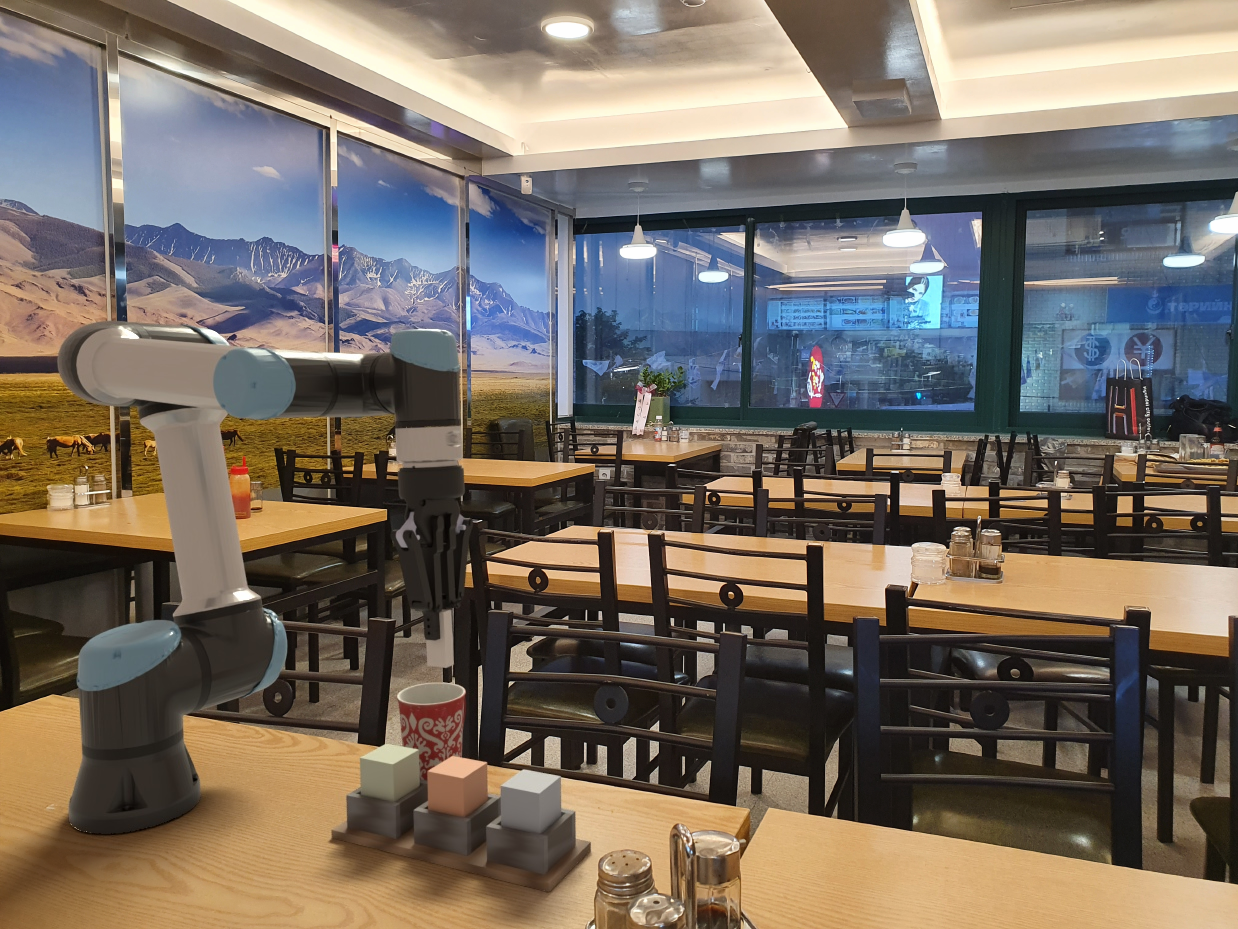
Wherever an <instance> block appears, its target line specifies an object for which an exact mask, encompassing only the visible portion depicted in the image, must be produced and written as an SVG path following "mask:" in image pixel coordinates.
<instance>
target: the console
mask: <svg viewBox="0 0 1238 929" xmlns="http://www.w3.org/2000/svg"><path fill="white" fill-rule="evenodd" d="M345 797H346V799H345V800H346V803H345V804H346V820H345V821H344V822H341V823H340V824H338V825H337V826H335V827H333V828H332V829H331V830H330V831H331V833H330V834H331V839H336V840H339V841H343V842H347V843H350V844H354V845H355V844H356V845H358V846H364V847H367V848H371V849H375V850H379V851H383V852H386V853H387V852H388V853H391V854H395V855H399V856H403V857H407V858H411V859H416V860H418V861H422V862H427V863H430V864H435V865H438V866H442V867H447V868H451V869H455V870H459V871H463V872H467V873H471V874H475V875H479V876H483V877H487V878H491V879H495V880H499V881H503V882H507V883H511V884H515V885H520V886H523V887H527V888H531V889H534V890H539V891H543V892H547V893H550V892H551V891H552V890H553V889H554V888H555V887H556V886H557V885H558V884H559V883H560V882H562V880H563V879H564V878H565V877H566V876H567V875H568V874H569V873H570V872H572V870H573V869H574V868H575V867H576V866H577V865H578V864H579V863H580V862H581V861H582V860H583V859H584V858H585V857H586V856H587V855H588V854H589V853H590V852H591V851H592V849H591V848H592V845H591V844H592V841H590V840H589V841H588V840H583V839H580V838H576V833H577V831H576V830H577V829H576V828H577V826H576V825H577V824H576V822H577V821H576V819H577V818H576V810H571V809H567V808H562V807H561V818H560V819H558V820H557V821H556V822H555V823H554V824H553V825H552V826H550V827H549V828H548V829H547V830H546V831H545V832H544V833H542V834H536V833H532V832H527V831H523V830H518V829H513V828H509V827H504V826H501V795H499V794H493V793H489V792H488V801H487V802H486V803H484V804H483V805H482V806H480V807H479V808H477V809H476V810H475V811H473V812H472V813H471V814H469V815H468V816H467V817H465V818H464V817H459V816H455V815H450V814H446V813H441V812H437V811H432V810H428V781H426V780H421V779H420V786H419V787H418V788H416V789H415V790H413V791H411V792H410V793H408V794H407V795H405V796H403V797H402V798H400V799H399V800H397V801H396V802H391V801H387V800H382V799H378V798H373V797H369V796H364V795H361V786H360V787H358V788H356V789H355V790H352V791H351V792H349V793H347V794H346V796H345Z"/></svg>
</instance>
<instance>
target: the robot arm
mask: <svg viewBox="0 0 1238 929" xmlns="http://www.w3.org/2000/svg"><path fill="white" fill-rule="evenodd" d="M390 343H391V344H390V347H389V351H386V352H372V353H350V352H349V353H348V352H347V353H345V352H329V351H328V352H327V351H308V350H307V351H305V350H291V349H280V348H279V349H277V348H267V347H256V346H255V347H254V346H250V347H249V346H237V345H231V344H230V343H229V342H228V341H227V339H226V338H224V337H223V336H221V335H220V334H219V333H218V332H216V331H214V330H212V329H210V328H209V329H208V328H204V327H198V326H193V325H189V324H180V325H179V324H165V323H164V324H162V323H161V324H160V323H150V322H149V323H146V322H135V321H134V322H133V321H131V322H130V321H123V320H121V321H120V320H103V321H96V322H92V323H91V322H90V323H88V324H85V325H83V326H80V327H79V328H77V329H75V330H74V331H73V332H72V333H70V334H68V336H67V337H66V338H65V339H64V341H63V342H62V344H61V345H60V346H59V350H58V355H57V361H56V362H57V370H58V373H59V377H60V379H61V380H62V382H63V383H64V385H65V386H66V388H67V389H68V390H69V391H70V392H72V393H73V394H74V396H77V397H79V398H81V399H82V400H84V401H87V402H90V403H92V404H96V405H101V406H106V407H123V408H124V407H125V408H128V407H129V408H131V407H133V408H134V407H135V408H136V409H137V412H138V413H137V414H138V418H139V423H140V425H142V426H143V427H144V428H145V429H147V430H149V431H151V433H153V436H154V440H155V447H156V452H157V459H158V463H159V469H160V471H159V472H160V476H161V481H162V487H163V488H162V489H163V493H164V499H165V504H166V510H167V516H168V524H169V529H170V533H171V534H170V535H171V541H172V545H173V552H174V553H173V554H174V557H175V563H176V569H177V575H178V582H179V586H180V592H181V598H182V600H181V601H180V602H181V603H180V604H179V605H178V606H177V608H176V609H175V611H174V612H173V613H172V617H173V621H172V620H166V619H151V620H144V621H142V622H138V623H137V622H132V623H127V624H123V625H120V626H117V627H114V628H111V629H108V630H106V631H103V632H101V633H99V634H96V635H95V636H94V637H92V638H90V639H89V640H88V641H87V642H86V643H85V644H84V645H83V646H82V647H81V649H80V652H79V653H78V662H77V664H78V665H77V676H76V685H77V687H78V701H79V702H78V703H79V718H80V719H79V721H80V739H81V740H80V741H81V756H82V758H81V763H80V767H79V769H78V772H77V776H76V779H75V782H74V787H73V790H72V795H71V796H70V798H69V800H68V822H70V823H71V824H72V826H73V827H76V828H77V829H79V830H81V831H85V832H86V831H87V832H91V833H90V834H92V833H101V834H100V835H111V833H112V834H113V833H116V834H123V832H125V833H131V832H135V830H137V831H140V830H139V829H142V830H144V829H143V828H146V827H150V828H152V827H151V826H153V827H156V826H155V825H157V826H159V825H158V824H160V825H162V824H161V823H163V824H165V823H168V822H170V821H169V820H171V819H173V818H175V819H177V818H179V817H181V816H183V815H184V814H186V813H188V812H189V811H191V810H192V809H193V808H195V807H196V806H197V805H198V803H199V802H200V800H201V798H202V795H201V794H202V792H201V791H202V790H201V779H200V776H199V774H198V772H197V769H196V766H195V765H194V762H193V760H192V757H191V755H190V753H189V751H188V748H187V745H186V743H185V738H184V716H186V715H189V714H191V713H196V712H198V711H201V710H202V711H203V710H204V709H208V708H211V707H214V706H216V705H220V704H223V703H227V702H229V701H232V700H236V699H242V698H247V697H249V696H251V695H253V694H254V693H256V692H259V691H261V690H264V689H267V688H268V687H270V686H272V684H273V683H275V682H276V680H277V679H278V678H279V676H280V674H281V672H282V670H283V668H284V666H285V663H286V659H287V654H288V639H287V633H286V628H285V625H284V623H283V622H282V621H281V620H279V616H278V615H277V614H276V612H274V611H273V610H271V609H269V608H268V609H267V608H265V607H264V606H263V602H262V601H263V600H262V596H261V595H259V594H257V593H256V592H255V591H253V590H251V589H250V588H249V586H248V580H247V577H246V575H247V574H246V570H245V564H244V560H243V552H242V546H241V542H240V537H239V536H240V534H239V530H238V524H237V519H236V514H235V512H236V511H235V506H234V502H233V497H232V490H231V485H230V484H231V483H230V479H229V478H230V477H229V473H228V468H227V466H228V465H227V462H226V461H227V460H226V455H225V450H224V444H223V438H222V434H221V433H222V432H221V427H220V425H221V423H222V422H223V421H224V419H225V418H226V417H227V416H228V415H230V416H231V417H234V418H238V419H248V420H254V421H255V420H256V421H257V420H260V421H261V420H262V421H264V420H265V421H266V420H267V421H268V420H270V419H288V418H289V419H290V418H291V419H293V418H295V419H296V418H344V419H352V418H354V419H359V418H364V417H376V416H389V415H393V416H394V419H395V420H394V426H395V428H394V430H395V449H396V450H395V451H396V452H395V453H396V462H398V463H399V464H402V467H400V468H399V469H398V470H397V481H398V482H397V483H398V485H397V486H398V496H399V499H400V500H403V501H405V502H406V508H405V513H404V517H403V518H404V524H403V525H401V527H400V529H393V530H391V532H390V539H391V541H392V543H393V544H394V547H395V549H396V550H397V555H398V559H399V565H400V569H401V574H402V579H403V583H404V587H405V588H404V589H405V591H406V596H407V597H406V598H407V602H408V606H409V608H410V609H411V610H414V611H415V612H421V613H422V617H423V618H422V619H423V620H422V621H423V636H424V639H425V643H426V644H425V646H426V664H427V665H426V667H434V668H435V667H436V668H445V669H447V668H450V667H451V666H454V665H455V663H454V659H455V658H454V642H453V641H454V640H453V637H454V636H453V634H454V616H453V614H454V613H453V609H459V608H460V607H461V604H462V602H461V601H460V600H463V599H464V597H465V588H466V575H467V565H468V552H469V544H470V543H469V542H470V536H471V532H472V530H473V526H474V520H473V519H472V518H470V517H469V518H466V517H464V516H463V515H462V514H461V508H460V506H459V502H458V498H461V497H462V496H464V495H465V493H466V487H465V468H464V467H463V466H462V465H461V464H458V463H459V461H461V460H462V459H463V458H464V457H463V456H464V454H463V438H462V419H461V399H460V398H461V390H460V388H461V387H460V384H461V382H460V376H461V375H460V371H461V365H460V361H459V353H458V346H457V338H456V337H455V335H454V334H453V333H451V332H450V331H448V330H445V329H438V328H436V329H434V328H433V329H431V328H420V329H419V328H417V329H405V330H404V329H403V330H399V331H396V332H394V333H393V334H392V336H391V339H390ZM458 600H459V601H458ZM200 797H201V798H200ZM198 801H199V802H198ZM195 805H196V806H195ZM182 814H183V815H182ZM176 817H177V818H176ZM173 820H174V819H173ZM167 821H168V822H167ZM171 821H172V820H171ZM164 822H165V823H164ZM70 823H69V824H70ZM72 826H71V827H72ZM73 827H72V828H73ZM146 829H147V828H146ZM81 831H80V832H81ZM130 831H131V832H130ZM85 832H84V833H85ZM120 832H121V833H120Z"/></svg>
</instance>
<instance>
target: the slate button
mask: <svg viewBox="0 0 1238 929" xmlns="http://www.w3.org/2000/svg"><path fill="white" fill-rule="evenodd" d="M499 788H500V796H501V826H504V827H509V828H513V829H518V830H523V831H527V832H532V833H536V834H542V833H544V832H545V831H546V830H547V829H548V828H549V827H550V826H552V825H553V824H554V823H555V822H556V821H557V820H558V819H560V818H561V808H562V776H561V775H555V774H549V773H545V772H544V773H543V772H539V771H533V770H530V769H522V770H521V771H519V772H518V773H516V774H514V775H513V776H512V777H511V778H509V779H508V780H506V781H505V782H503V783H502V784H500V787H499Z"/></svg>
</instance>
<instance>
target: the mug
mask: <svg viewBox="0 0 1238 929" xmlns="http://www.w3.org/2000/svg"><path fill="white" fill-rule="evenodd" d="M466 694H467V692H466V689H465V688H464V687H463V686H461V685H459V684H455V683H451V682H450V683H448V682H426V683H419V684H415V685H412V686H408V687H406V688H404V689H402V690H400V691H399V692H398V693H397V695H396V700H397V702H398V711H399V722H400V732H401V746H402V747H407V748H413V749H418V750H419V776H420V779H421V780H426V781H428V776H427V771H429V770H430V769H432V768H433V767H435V766H437V765H438V764H440V763H442V762H443V761H445V760H447V759H448V758H450V757H452V756H455V757H461V758H463V757H462V756H463V734H464V733H463V730H464V726H465V719H466V718H465V717H466V709H467V708H466V707H467V702H466Z"/></svg>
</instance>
